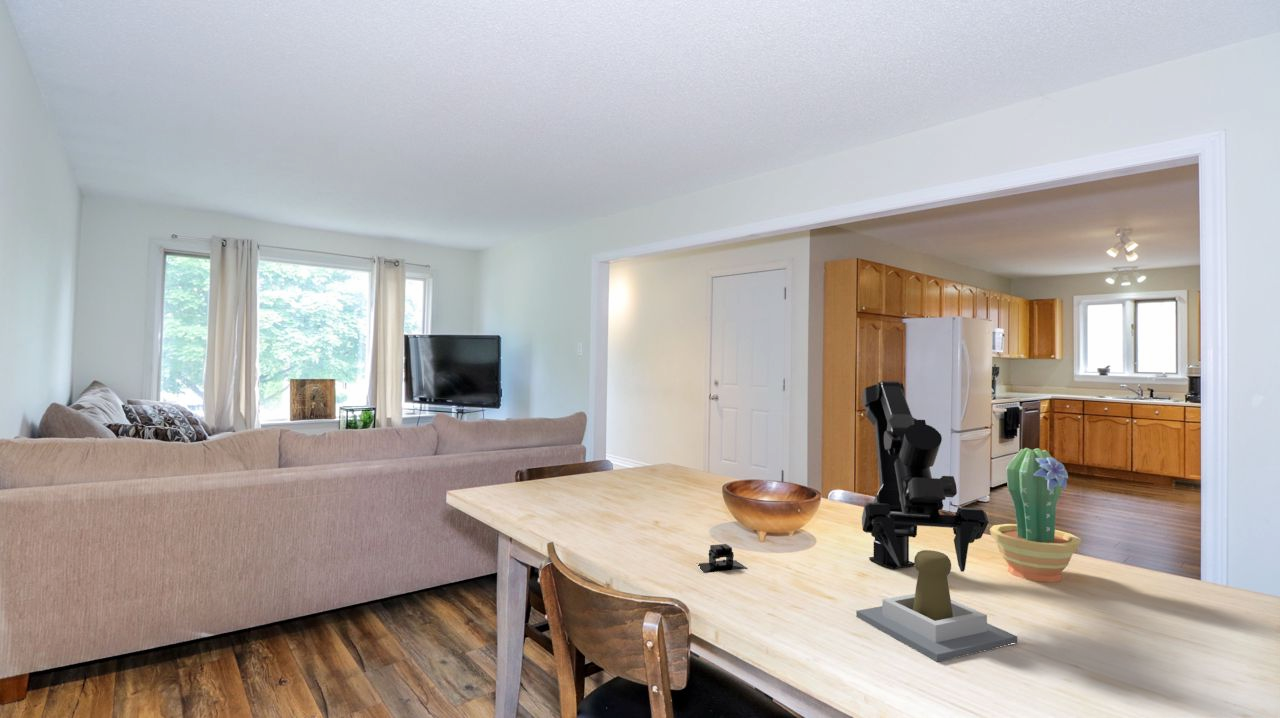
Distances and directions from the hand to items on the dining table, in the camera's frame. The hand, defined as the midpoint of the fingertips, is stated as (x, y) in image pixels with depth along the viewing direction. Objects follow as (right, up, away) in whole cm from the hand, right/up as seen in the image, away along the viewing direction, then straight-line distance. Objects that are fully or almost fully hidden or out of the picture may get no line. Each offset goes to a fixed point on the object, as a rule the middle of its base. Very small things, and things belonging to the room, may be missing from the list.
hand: (931, 568), depth 95 cm
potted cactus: (+33, -10, +25) cm, 42 cm away
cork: (0, -8, -1) cm, 8 cm away
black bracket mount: (-30, -10, +28) cm, 42 cm away
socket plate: (0, -9, -1) cm, 9 cm away
